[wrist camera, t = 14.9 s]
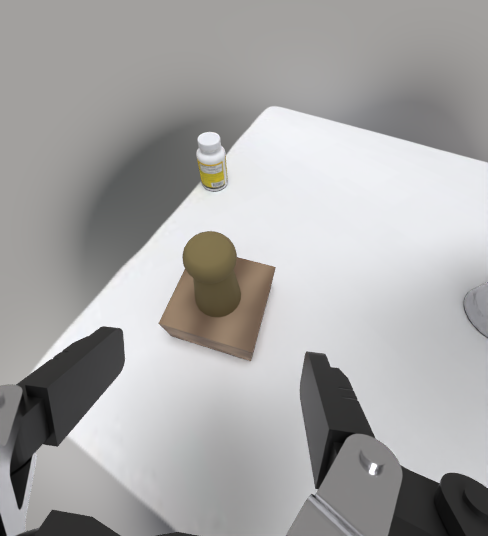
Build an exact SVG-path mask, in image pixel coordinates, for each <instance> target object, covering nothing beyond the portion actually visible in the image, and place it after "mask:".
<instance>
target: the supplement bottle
mask: <svg viewBox="0 0 488 536" xmlns="http://www.w3.org/2000/svg"><path fill="white" fill-rule="evenodd" d="M198 146H199V149H198V150H197V160H198V165H199V170H200V175H201V181H202V185H203V186H204V188H206V189H207V190H210V191H219V190H221V189H223V188H224V187H225V186H226V185H227V167H226V155H225V150H224V148H223V147H222V146H221V143H220V137H219V135H218V134H216V133H213V132H206V133H203V134H201V135H200V136H199V137H198Z"/></svg>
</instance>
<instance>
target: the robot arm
mask: <svg viewBox="0 0 488 536" xmlns="http://www.w3.org/2000/svg"><path fill="white" fill-rule="evenodd" d="M464 307H465V310H466V313H467V315H468V317H469V319H470V321H471V322H472V323H473V325H474V326H475V327H476V328H477V329H478V330H479V331H480V332H481V333H483V334H484V335H485V336H486V337H488V282H487V283H485V284H483V285H481V286H479V287H477V288H475V289H473V290H471V291H470V292H468V294H467V295H466V297H465V300H464ZM124 362H125V354H124V340H123V331H122V329H120V328H113V327H104V326H103V327H100V328H99V329H98V330H96V331H95V332H94V333H92V334H91V335H90V336H87V337H85V338H83V339H81V340H78V341H76V342H74V343H72V344H71V345H70V346H68V347H67V348H66V349H64V350H63V351H62V352H60V353H59V354H57V355H56V356H55V357H53V359H51V360H49V361H48V362H46V363H45V364H44V365H42V366H41V367H40V368H38V369H37V370H36V371H34V372H33V373H31V374H30V375H29V376H27V377H26V378H25V379H23V380H22V381H21V382H20V383H18V384H16V385H2V386H0V536H120V535H119V534H117V533H115V532H114V531H113V530H111V529H110V528H108V527H107V526H105V525H103V524H102V523H101V522H99V521H98V520H96V519H95V518H93V517H90V516H85V515H79V514H73V513H67V512H61V511H56V510H52V511H51V512H50V514H49V515H48V516H47V518H46V519H45V521H44V522H43V524H42V525H41V526H40V528H37V529H33V530H30V531H26V532H25V522H26V514H27V509H28V503H29V498H30V492H31V487H32V481H33V476H34V470H35V465H36V459H37V456H36V450H38V449H39V447H40V446H41V445H42V444H45V445H52V446H59V444H60V443H61V442H62V441H63V439H65V437H66V436H67V435H68V434H69V433H70V432H71V430H72V429H73V428H74V427H75V426H76V424H77V423H78V422H79V421H80V420H81V419H82V417H83V416H84V415H85V414H86V413H87V412H88V410H89V409H90V408H91V407H92V406H93V405H94V403H95V402H96V401H97V400H98V399H99V397H100V396H101V395H102V394H103V393H104V392H105V390H106V389H107V388H108V387H109V386H110V385H111V383H112V382H113V381H114V380H115V379H116V378H117V376H118V375H119V374H120V373H121V371H122V369H123V366H124ZM300 400H301V406H302V412H303V418H304V424H305V430H306V435H307V441H308V447H309V453H310V459H311V465H312V471H313V477H314V483H315V489H319V490H318V491H317V493H316V494H315V496H314V495H313V494H311V495H310V496H309V497H308V499H307V500H306V502H305V503H304V505H303V507H302V509H301V510H300V512H299V514H298V516H297V517H296V519H295V521H294V523H293V524H292V526H291V528H290V530H289V531H288V533H287V535H286V536H488V488H486V487H485V486H483V485H482V484H480V483H479V482H477V481H475V480H474V479H472V478H470V477H467V476H465V475H462V474H458V473H447V474H445V475H444V476H443V477H442V479H441V481H440V483H437V482H435V481H433V480H430V479H428V478H426V477H424V476H421V475H419V474H417V473H414V472H412V471H410V470H408V469H406V468H404V467H403V466H401V465H400V464H399V461H398V460H397V458H396V457H395V455H394V454H393V453H392V452H391V450H390V449H389V448H388V447H386V446H385V445H384V444H383V443H381V442H380V441H378V440H377V439H375V436H374V434H373V432H372V430H371V428H370V425H369V423H368V421H367V419H366V417H365V415H364V412H363V410H362V408H361V406H360V404H359V401H357V397H356V395H355V393H354V391H353V388H352V386H351V384H350V382H349V380H348V378H347V377H346V376H345V375H344V374H343V373H342V372H341V370H340V369H339V368H332V367H330V364H329V362H328V359H327V357H326V355H325V354H323V353H315V352H306V354H305V358H304V364H303V370H302V376H301V382H300ZM158 536H197V535H192V534H186V533H180V532H175V533H169V534H163V535H158Z"/></svg>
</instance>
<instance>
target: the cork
mask: <svg viewBox="0 0 488 536" xmlns="http://www.w3.org/2000/svg"><path fill="white" fill-rule="evenodd" d="M236 258H237V254H236V250H235V247H234V245H233V243H232V242H231V241H230V239H229V238H227V237H226V236H224V235H223V234H221V233H217V232H212V231H207V232H202V233H199V234H197V235H195V236H194V237H193V238H191V239H190V240H189V241H188V243H187V244H186V246H185V247H184V251H183V264H184V267H185V269H186V270H187V272H188V274H189V275H190V276H192V277H193V282H194V292H195V300H196V304H197V306H198V308H199V310H200V311H202V312H203V313H204V314H205V315H208V316H210V317H223V316H227V315H229V314H230V313H232V312H233V311H234V310H235V309H236V308H237V307H238V305H239V303H240V300H241V291H240V287H239V284H238V281H237V278H236V275H235V272H234V267H235V265H236Z"/></svg>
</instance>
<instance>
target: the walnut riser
mask: <svg viewBox="0 0 488 536" xmlns="http://www.w3.org/2000/svg"><path fill="white" fill-rule="evenodd" d="M234 272H235V275H236V278H237V281H238V284H239V287H240V291H241V300H240V303H239V305H238V307H237V308H236V309H235V310H234V311H233V312H232V313H230V314H229V315H227V316H223V317H210V316H208V315H205V314H204V313H203V312H202V311H200V310H199V308H198V306H197V304H196V300H195V292H194V282H193V277H192V276H190V275H189V274H188V272H187V270H186V269H185V270H184V272H183V274H182V276H181V278H180V280H179V282H178V285H177V287H176V289H175V291H174V293H173V295H172V297H171V299H170V301H169V303H168V305H167V307H166V309H165V311H164V313H163V315H162V318H161V320H160V322H159V324H160V325H161V326H162V327H163V328H164V329H165V330H166V331H167V332H168V333H169V334H170V335H171V336H173V337H176V338H179V339H182V340H186V341H189V342H192V343H195V344H198V345H201V346H205V347H208V348H211V349H214V350H217V351H220V352H224V353H227V354H230V355H233V356H236V357H239V358H243V359H246V360H249V361H251V359H252V355H253V352H254V348H255V344H256V340H257V337H258V333H259V329H260V325H261V322H262V318H263V314H264V310H265V307H266V303H267V299H268V296H269V292H270V288H271V284H272V280H273V276H274V272H275V267H273V266H269V265H265V264H261V263H257V262H253V261H250V260H246V259H242V258H238V257H237V258H236V265H235V267H234Z"/></svg>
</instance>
